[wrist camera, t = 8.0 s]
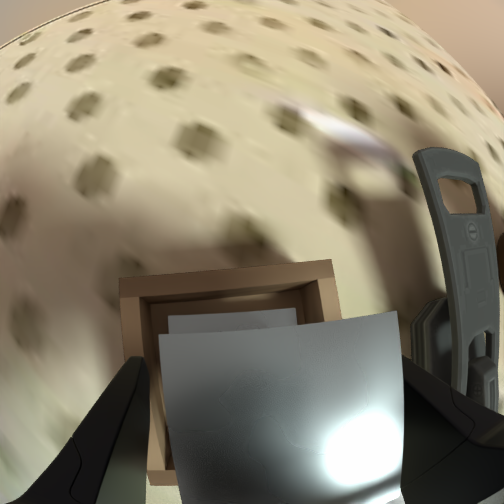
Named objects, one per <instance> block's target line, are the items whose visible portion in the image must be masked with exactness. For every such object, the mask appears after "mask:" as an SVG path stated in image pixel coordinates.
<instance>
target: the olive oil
mask: <svg viewBox="0 0 504 504" xmlns="http://www.w3.org/2000/svg"><path fill="white" fill-rule="evenodd" d="M497 265H498V272H499V277H500V281H501V284H502V288H503V290H504V233H503V234H502V235H501V236H500V238H499V241H498V246H497Z"/></svg>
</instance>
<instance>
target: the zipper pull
mask: <svg viewBox="0 0 504 504" xmlns="http://www.w3.org/2000/svg"><path fill="white" fill-rule="evenodd" d="M412 158H413V161H414V164H415V166H416V169H417V172H418V175H419V178H420V181H421V185H422V188H423V191H424V194H425V198H426V201H427V205H428V208H429V211H430V215H431V218H432V222H433V226H434V230H435V234H436V238H437V242H438V247H439V252H440V257H441V262H442V267H443V273H444V278H445V285H446V291H447V297H445V298H441V299H438V300H434V301H431V302H428V303H427V304H426V306H425V307H424V308H423V310H422V311H421V312H420V313H419V315H418V316H417V317H416V319H415V320H414V321H413V322H412V323H411V326H410V332H411V353H412V362H414V363H416V364H417V365H419V366H420V367H422V368H423V369H425V370H426V371H428V372H429V373H431V374H432V375H434V376H435V377H437V378H439V379H440V380H442V381H443V382H445V383H446V384H448V385H449V386H450V387H452V388H454V389H456V390H457V391H459V392H460V393H462V394H464V395H465V396H467V397H468V398H470V399H472V400H474V401H476V402H478V403H479V404H481V405H483V406H485V407H487V408H489V409H491V410H493V411H495V412H497V413H498V400H499V387H498V359H499V323H500V302H499V278H498V265H497V255H496V247H495V239H494V232H493V226H492V220H491V215H490V209H489V204H488V199H487V195H486V190H485V186H484V182H483V178H482V175H481V171H480V167H479V164H478V163H477V162H476V161H474V160H473V159H471V158H470V157H468V156H467V155H465V154H463V153H460V152H457V151H455V150H451V149H447V148H440V147H430V148H425V149H421V150H418V151H417V152H415V153H414V154H413V156H412ZM439 178H447V179H455V180H462V181H464V182H466V183H468V184H470V185H471V188H472V191H473V195H474V199H475V203H476V207H477V213H476V214H450V213H449V212H448V210H447V209H446V207H445V206H444V204H443V200H442V196H441V192H440V188H439V184H438V181H437V180H438V179H439ZM484 332H485V333H486V345H485V338H484Z"/></svg>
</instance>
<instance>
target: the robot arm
mask: <svg viewBox="0 0 504 504" xmlns="http://www.w3.org/2000/svg"><path fill="white" fill-rule="evenodd" d="M401 356H402V371H403V392H404V438H403V459H402V473H401V483H400V489H401V492H402V495H403V498H404V501H405V504H504V416H503V415H501V414H499V413H497V412H495V411H493V410H491V409H489V408H487V407H485V406H483V405H481V404H479V403H478V402H476V401H474V400H472V399H470V398H468V397H467V396H465V395H464V394H462V393H460V392H459V391H457V390H456V389H454V388H452V387H450V386H449V385H448V384H446V383H445V382H443V381H442V380H440V379H439V378H437V377H435V376H434V375H432V374H431V373H429V372H428V371H426V370H425V369H423V368H422V367H420V366H419V365H417V364H416V363H414V362H412V361H411V360H409V359H408V358H406V357H405V356H403V355H402V354H401ZM149 432H150V377H149V372H148V368H147V365H146V362H145V359H144V357H143V356H130V357H129V358H128V360H127V361H126V362H125V364H124V365H123V366H122V368H121V369H120V370H119V372H118V373H117V374H116V376H115V377H114V378H113V380H112V381H111V382H110V384H109V385H108V386H107V388H106V389H105V390H104V392H103V393H102V394H101V396H100V397H99V399H98V400H97V401H96V403H95V404H94V405H93V407H92V408H91V410H90V411H89V412H88V414H87V415H86V416H85V418H84V419H83V421H82V422H81V423H80V425H79V426H78V428H77V429H76V430H75V432H74V433H73V435H72V437H73V438H72V437H70V439H69V440H68V442H67V443H66V445H65V446H64V447H63V449H62V450H61V451H60V453H59V454H58V455H57V457H56V458H55V459H54V460H53V462H52V463H51V464H50V465H49V466H48V467H47V469H46V470H45V471H44V472H43V473H42V474H41V475H40V476H39V478H38V479H37V480H36V481H35V482H34V483H33V484H32V485H31V487H30V488H29V489H28V490H27V491H26V492H25V493H24V494H23V495H22V496H20V497H19V498H17V499H16V500H14V501H12V502H9V503H6V504H146V475H147V458H148V444H149Z"/></svg>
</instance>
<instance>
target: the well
mask: <svg viewBox="0 0 504 504" xmlns="http://www.w3.org/2000/svg"><path fill="white" fill-rule="evenodd" d="M119 295H120V314H121V327H122V339H123V349H124V358H125V362H126V361H127V360H128V358H129V357H130V356H143V357H144V359H145V362H146V365H147V368H148V372H149V377H150V432H149V444H148V458H147V475H148V479H149V482H150V485H154V486H175V485H178V482H177V477H176V472H175V467H174V461H173V456H172V450H171V444H170V438H169V431H168V424H167V417H166V409H165V401H164V393H163V383H162V373H161V362H160V349H159V334H169V326H168V316H172V315H199V314H219V313H235V312H250V311H263V310H275V309H287V308H296V317H297V325H304V324H312V323H320V322H328V321H335V320H342V316H341V310H340V304H339V298H338V292H337V287H336V281H335V276H334V271H333V266H332V260H331V259H326V260H317V261H307V262H297V263H287V264H276V265H266V266H255V267H245V268H234V269H223V270H211V271H200V272H188V273H176V274H164V275H152V276H139V277H126V278H119Z"/></svg>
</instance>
